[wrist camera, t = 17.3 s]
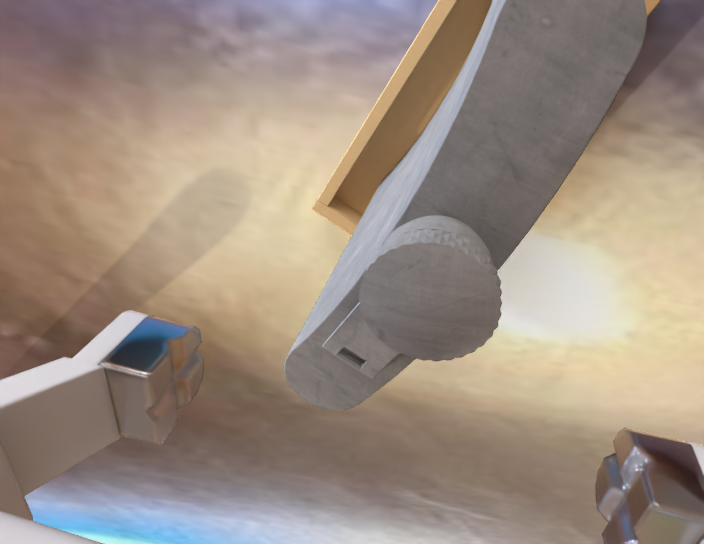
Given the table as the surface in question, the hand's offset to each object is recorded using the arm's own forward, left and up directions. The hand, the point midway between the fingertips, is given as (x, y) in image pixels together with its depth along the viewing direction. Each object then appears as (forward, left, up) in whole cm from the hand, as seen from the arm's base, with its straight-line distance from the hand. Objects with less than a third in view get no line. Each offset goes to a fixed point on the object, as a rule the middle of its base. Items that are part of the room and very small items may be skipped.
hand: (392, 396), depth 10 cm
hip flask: (0, 0, -24) cm, 24 cm away
